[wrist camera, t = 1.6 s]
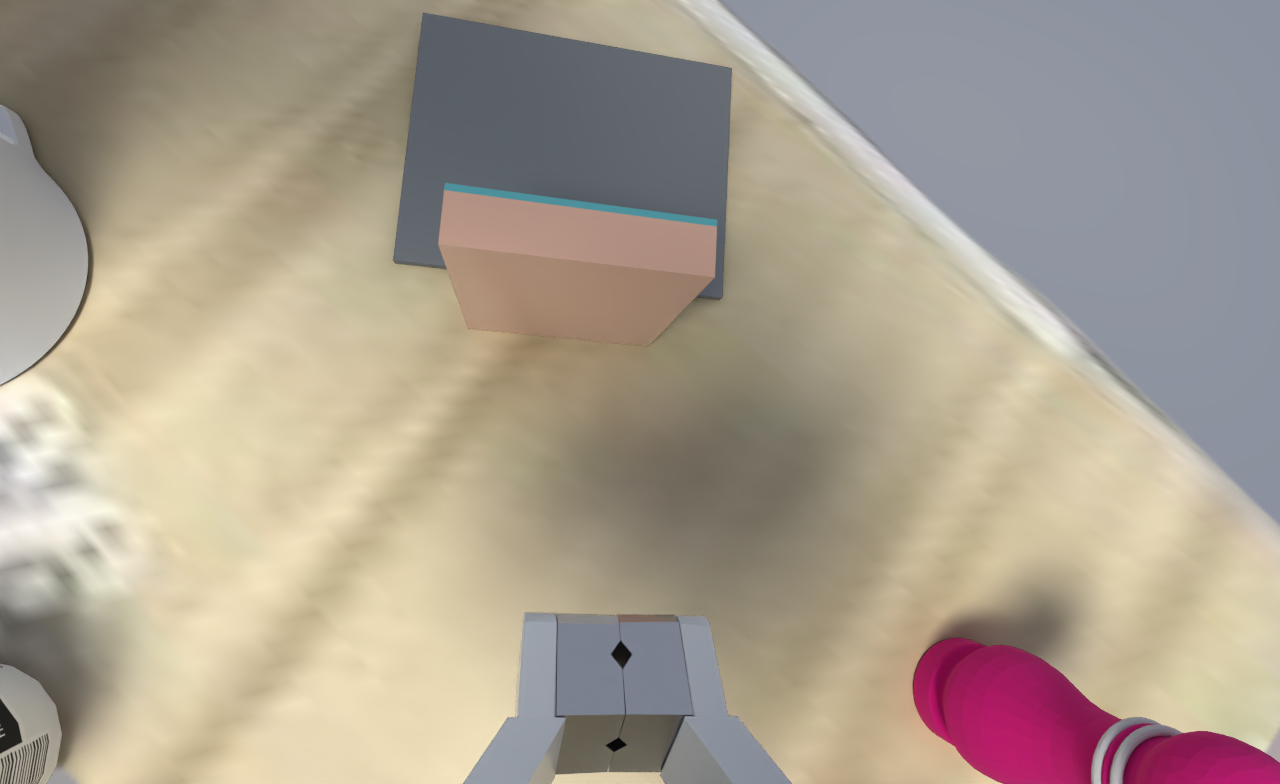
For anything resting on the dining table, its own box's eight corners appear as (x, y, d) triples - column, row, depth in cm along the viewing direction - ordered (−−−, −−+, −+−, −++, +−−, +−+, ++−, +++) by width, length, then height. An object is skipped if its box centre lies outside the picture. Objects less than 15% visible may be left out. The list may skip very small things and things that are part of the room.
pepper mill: (917, 761, 39) (1307, 1039, 20) (894, 642, 40) (1247, 796, 21) (1017, 733, 41) (1470, 965, 21) (992, 618, 42) (1408, 741, 22)
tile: (648, 346, 40) (715, 277, 26) (468, 328, 38) (438, 244, 24) (650, 307, 40) (717, 219, 27) (472, 288, 38) (445, 182, 25)
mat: (719, 299, 41) (722, 297, 40) (395, 263, 38) (393, 260, 37) (728, 73, 43) (731, 68, 43) (424, 19, 40) (422, 12, 39)
